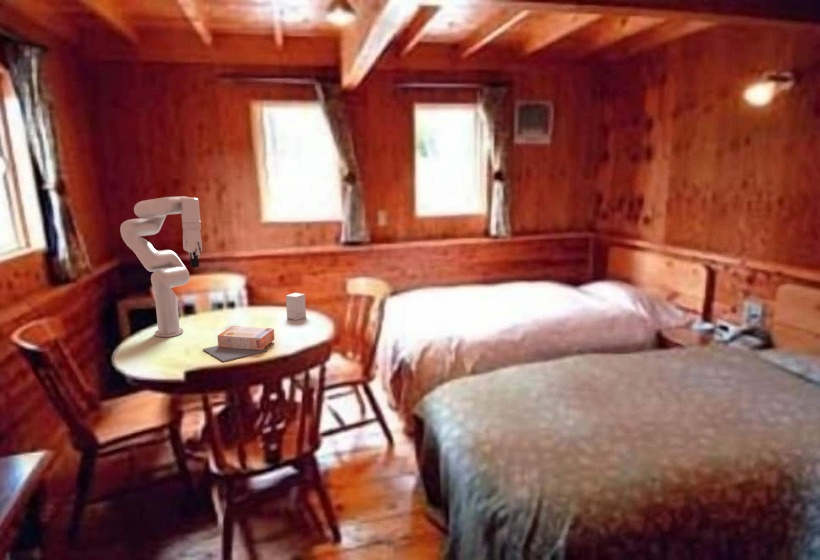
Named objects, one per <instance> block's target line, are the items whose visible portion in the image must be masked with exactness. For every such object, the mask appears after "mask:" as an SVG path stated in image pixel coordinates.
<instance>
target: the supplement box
mask: <svg viewBox="0 0 820 560" xmlns="http://www.w3.org/2000/svg"><path fill="white" fill-rule="evenodd" d="M285 304H286V307H285V309H286V319H288V320H289V319H290V320H295V321H298V320H301V319H304V318H307V309H306V308H307V307H306V294H305V293H300V292H294V293H290V294H286V295H285Z"/></svg>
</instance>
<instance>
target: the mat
mask: <svg viewBox="0 0 820 560" xmlns="http://www.w3.org/2000/svg"><path fill="white" fill-rule="evenodd" d="M203 350H204V352H205V353H207V354H208V353H209V354H208V355H210V354H211V356H212V357H213V356H214V358H215V359H217V360H218V361H220V362H221V363H226V362H229V361H235V360H237V359H242V358H246V357H247V358H248V357H250V356H254V355H257V354H262V353H265V352H267V351H268V350H267V349H265V348H264V349H262V350H253V349H237V348H222V347H218V345H214V346H209V347H206V348H203V349H202V351H203Z"/></svg>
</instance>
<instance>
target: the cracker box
mask: <svg viewBox="0 0 820 560" xmlns="http://www.w3.org/2000/svg"><path fill="white" fill-rule="evenodd" d="M273 341H275V329H274V328H269V327H268V328H267V327H251V326H249V327H248V326H236V325H235V326H232V325H231V326H230V327H229V328H227V329H226V330H224V331H222V332H221V333H220V334H218V335H217V346H218V347H222V348H237V349H253V350H262V349H265V348H266V347H268V345H270V344H271V343H272V342H273Z"/></svg>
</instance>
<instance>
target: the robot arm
mask: <svg viewBox="0 0 820 560" xmlns="http://www.w3.org/2000/svg"><path fill="white" fill-rule="evenodd" d="M133 212H134V214H135V216H136V217H138V218H132V219H127V220H125V221H123V222H122V223H121V224H120V229H119V230H120V231H119V232H120V236H121V238H122V240H123V242H124V243H125V244H126V246H127V247H128V248H129V249H130V250H132V252H133V253H134V254H135V255H136V257H137V259H138V260H139V261H140V263H141V264H142V266H143V267H144V268H145V269H146V271H148V272H150V273H151V272H152V273H151V275H150V281H151V285H152V288H153V294H154V299H155V309H156V322H157V323H156V324H157V330H156V331H154V335H155V336H156V337H159V338H170V337H176V336H180V335H181V334H183V333H184V329H183V328H182V327H180V320H179V319H180V318H179V305H178V304H179V303H178V296H177V294H176V292H174V290H173V289H172V288H175V287H176V288H177V287H182V286H185V285H187V284H188V283H189V281H190V278H191V277H190V272H189V270H188V269H187V267H186V265H185V264H184V263H183V262H182V260H181V258H180V257H179V256H178V254H177V253H176V252H174V251H173V250H171V249H163V250H162V249H161V250H157V249H155V248H154V246H153V244H152V243H151V242H150V241H148V240H147V239H145V238H144V237H146V236H153V235H156V234H158V233H160V231H161V229H162V226H163V224H164V222H165V220H166V218H167V216H168V215H178V214H181V225H182V227H181V228H182V248H183V250H184V251H185V252H187V253H188V258H189V263H190V264H189V265H190V268H199V267H200V262H199V261H200V260H199V259H200V255H201V252H202V251H203V240H202V234H201V230H202V225H201V212H200V201H199V198H197V197H190V196H186V195H185V196H184V195H181V196H165V197H159V198H153V199H146V200H141V201H138V202H137V203H136V204H135V205H134V207H133Z"/></svg>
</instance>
